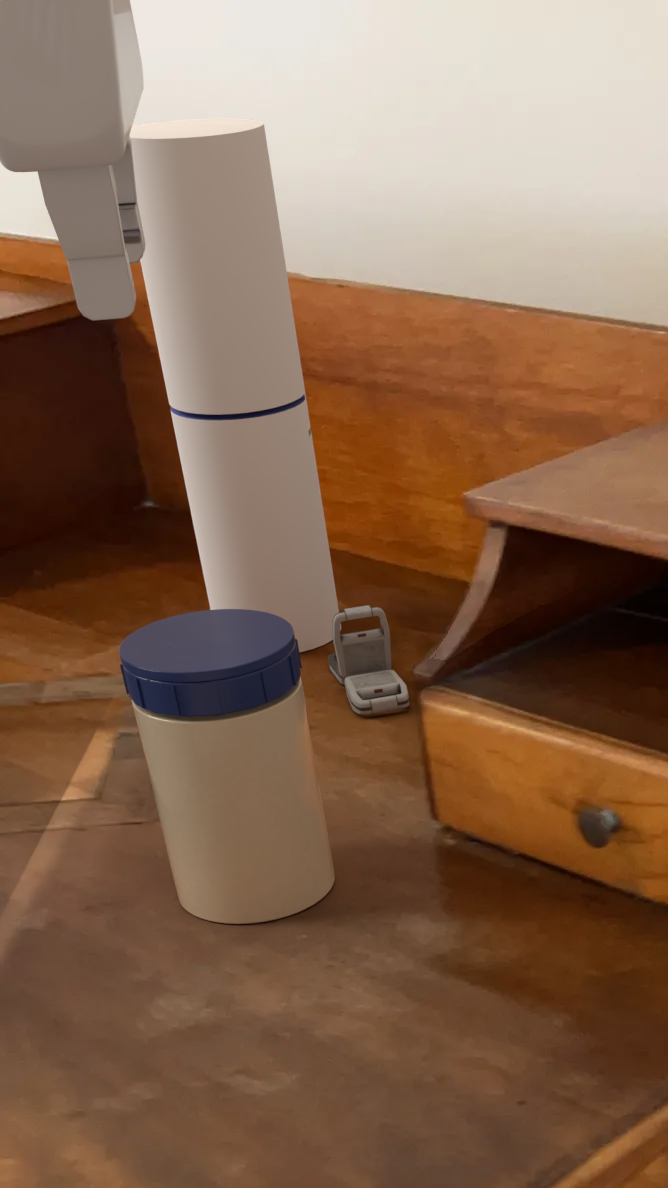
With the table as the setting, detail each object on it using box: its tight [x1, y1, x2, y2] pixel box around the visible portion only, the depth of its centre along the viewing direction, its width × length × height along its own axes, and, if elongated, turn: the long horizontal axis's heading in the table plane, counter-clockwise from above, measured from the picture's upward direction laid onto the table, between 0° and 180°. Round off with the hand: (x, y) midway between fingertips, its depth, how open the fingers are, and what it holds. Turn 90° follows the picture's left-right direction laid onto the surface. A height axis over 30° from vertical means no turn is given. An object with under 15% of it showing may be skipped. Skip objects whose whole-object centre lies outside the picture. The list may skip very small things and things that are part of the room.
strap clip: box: [327, 604, 410, 716], centre depth 91 cm, size 8×3×4 cm, turn 20°
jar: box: [131, 676, 336, 925], centre depth 72 cm, size 7×7×10 cm
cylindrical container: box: [130, 117, 342, 653], centre depth 91 cm, size 7×7×25 cm
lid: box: [118, 609, 303, 717], centre depth 69 cm, size 7×7×2 cm
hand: (117, 286), depth 59 cm, fingers open, 8 cm apart
